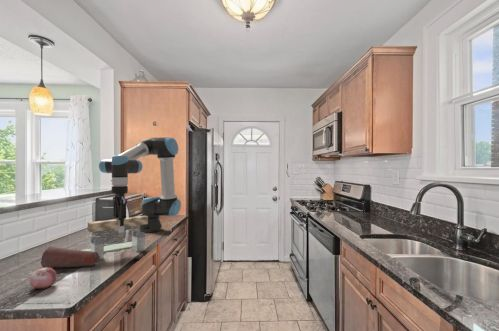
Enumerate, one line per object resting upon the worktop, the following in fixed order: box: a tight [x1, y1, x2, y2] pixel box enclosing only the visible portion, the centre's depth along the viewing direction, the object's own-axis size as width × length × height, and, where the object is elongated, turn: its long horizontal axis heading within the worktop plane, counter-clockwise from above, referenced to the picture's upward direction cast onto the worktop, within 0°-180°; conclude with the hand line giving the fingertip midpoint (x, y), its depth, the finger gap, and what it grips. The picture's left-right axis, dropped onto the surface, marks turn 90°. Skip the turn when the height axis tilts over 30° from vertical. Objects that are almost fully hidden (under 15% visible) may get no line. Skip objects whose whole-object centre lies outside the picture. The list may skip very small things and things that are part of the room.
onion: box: [29, 267, 58, 290], centre depth 101 cm, size 8×8×7 cm
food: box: [40, 246, 101, 269], centre depth 123 cm, size 21×10×9 cm, turn 103°
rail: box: [87, 215, 148, 233], centre depth 143 cm, size 28×4×4 cm, turn 133°
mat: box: [81, 241, 132, 253], centre depth 150 cm, size 32×10×1 cm, turn 133°
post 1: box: [89, 235, 105, 260], centre depth 135 cm, size 4×7×10 cm, turn 44°
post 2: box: [131, 229, 146, 253], centre depth 149 cm, size 4×7×10 cm, turn 44°
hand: (119, 231), depth 143 cm, fingers closed on rail, 4 cm apart
